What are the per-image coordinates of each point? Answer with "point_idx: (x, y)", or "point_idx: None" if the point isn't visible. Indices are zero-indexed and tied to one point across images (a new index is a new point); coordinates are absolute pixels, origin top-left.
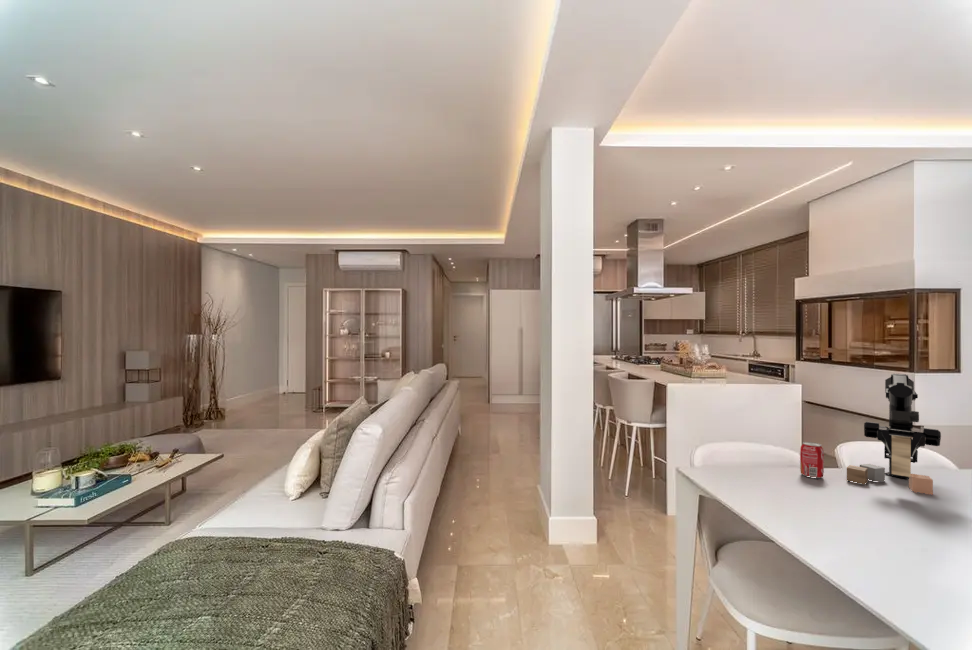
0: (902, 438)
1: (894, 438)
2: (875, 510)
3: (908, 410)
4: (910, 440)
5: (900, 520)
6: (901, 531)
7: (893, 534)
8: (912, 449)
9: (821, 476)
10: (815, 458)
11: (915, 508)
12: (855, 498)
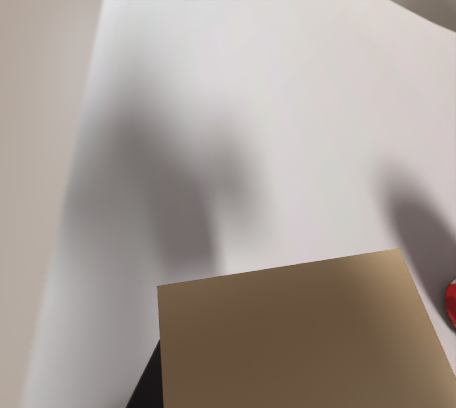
0: (275, 281)
1: (360, 256)
2: (238, 110)
3: None
4: (163, 289)
5: (190, 83)
6: (182, 33)
7: (191, 15)
8: (160, 370)
9: (447, 300)
10: None
11: (170, 198)
12: (294, 166)
